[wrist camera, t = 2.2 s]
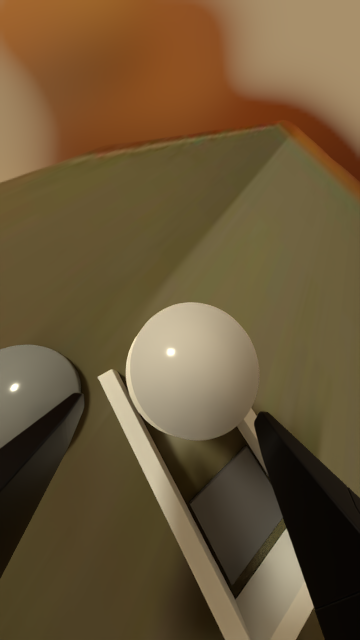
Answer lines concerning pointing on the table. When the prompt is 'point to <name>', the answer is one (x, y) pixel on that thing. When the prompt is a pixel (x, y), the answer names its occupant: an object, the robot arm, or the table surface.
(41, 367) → the coaster
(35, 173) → the table surface
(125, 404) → the channel
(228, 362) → the salt mill
